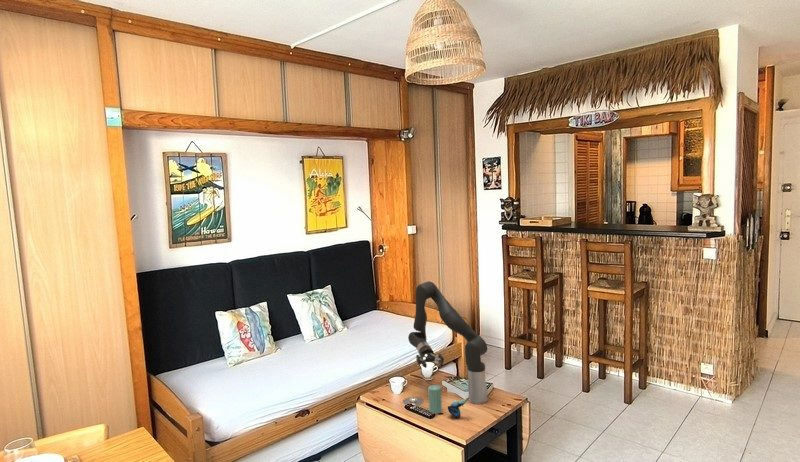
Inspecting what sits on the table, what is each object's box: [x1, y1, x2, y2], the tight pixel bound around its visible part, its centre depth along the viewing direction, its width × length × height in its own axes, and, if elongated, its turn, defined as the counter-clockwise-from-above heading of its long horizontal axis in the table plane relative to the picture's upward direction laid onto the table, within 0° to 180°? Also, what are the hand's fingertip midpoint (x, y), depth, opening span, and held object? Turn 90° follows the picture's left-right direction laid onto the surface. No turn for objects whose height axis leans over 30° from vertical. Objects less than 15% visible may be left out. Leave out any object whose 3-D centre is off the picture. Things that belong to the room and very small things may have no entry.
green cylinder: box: [427, 384, 443, 415], centre depth 248 cm, size 6×6×13 cm
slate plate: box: [402, 396, 424, 407], centre depth 261 cm, size 11×11×1 cm
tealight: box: [410, 396, 417, 403], centre depth 260 cm, size 4×4×2 cm
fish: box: [447, 398, 469, 419], centre depth 241 cm, size 4×10×10 cm, turn 78°
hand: (433, 365), depth 255 cm, fingers open, 8 cm apart
